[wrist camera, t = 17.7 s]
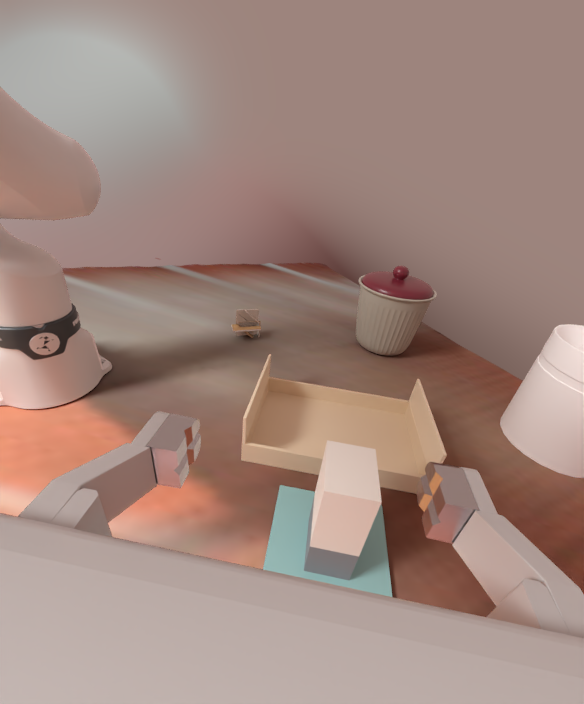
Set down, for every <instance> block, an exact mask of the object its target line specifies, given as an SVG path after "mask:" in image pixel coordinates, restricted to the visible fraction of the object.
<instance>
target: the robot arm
mask: <svg viewBox="0 0 584 704" xmlns="http://www.w3.org/2000/svg"><path fill="white" fill-rule="evenodd" d="M100 193H101V184H100V178H99V174H98V171H97V169H96V166H95V164H94V163H93V161H92V159H91V157H90V156H89V155H88V153H87V152H86V151H85V150H84V148H83V147H82V146H81V145H80V144H79V143H77V142H76V141H75V140H74V139H72V138H70V137H68V136H66V135H63V134H62V133H60V132H58V131H56V130H54V129H52V128H51V127H49V126H47V125H46V124H44V123H43V122H41V121H40V120H38V119H37V118H36V117H34V116H33V115H32V114H30V113H29V112H28V111H27V110H25V109H24V108H22V107H21V106H20V105H19V104H18V103H17V102H16V101H15V100H14V99H12V98H11V97H10V96H9V95H8V94H7V93H6V92H5V91H4V90H3V89H2V88H1V87H0V218H6V219H32V220H34V219H35V220H60V219H67V218H74V217H81V216H87V215H90V214H91V212H92V211H93V210H94V209H95V207H96V206H97V204H98V201H99V198H100ZM111 369H112V364H111V362H109V361H108V360H107V359H105V358H104V357H102V356H101V355H99V353H98V349H97V346H96V343H95V340H94V337H93V334H92V333H89V332H88V331H87V330H85V329H82V328H81V327H80V321H79V315H78V312H77V311H76V308H75V306H74V305H73V304H72V303H71V300H70V296H69V293H68V289H67V285H66V282H65V278H64V274H63V270H62V267H61V265H60V264H59V263H58V261H57V260H56V259H55V258H54V257H53V256H52V255H51V254H49V253H48V252H47V251H45V250H43V249H41V248H39V247H37V246H34V245H32V244H29V243H26V242H24V241H21V240H19V239H17V238H16V237H14V236H13V235H11V234H10V233H9V232H8V231H7V230H6V229H5V228H4V227H3V226H2V225H1V224H0V406H1V405H8V406H13V407H17V408H22V409H42V408H49V407H54V406H58V405H62V404H65V403H68V402H71V401H73V400H76V399H78V398H80V397H82V396H83V395H85V394H87V393H88V392H90V391H91V390H92V389H93V388H95V387H96V385H97V384H98V383H99V381H100V380H101V378H102V376H103V375H105V374H106V373H107V372H109V371H110V370H111ZM199 428H200V421H199V420H198V419H195V418H190V417H186V416H181V415H176V414H170V413H165V412H161V411H158V412H156V413H154V415H153V416H152V417H151V418H150V420H149V421H148V422H147V423H146V425H145V426H144V427H143V429H142V430H141V431H140V432H139V434H138V435H137V436H136V438H135V439H134V440H133V441H132V443H131V444H129V443H126V444H124V445H122V446H120V447H118V448H116V449H114V450H112V451H110V452H108V453H106V454H104V455H102V456H100V457H98V458H96V459H94V460H92V461H90V462H88V463H86V464H84V465H82V466H80V467H78V468H75V469H73V470H71V471H69V472H67V473H65V474H63V475H61V476H59V477H57V478H55V479H53V480H52V481H51V482H50V483H49V484H48V485H47V486H46V487H45V488H44V489H43V490H42V491H41V493H40V494H39V495H38V496H37V497H36V498H35V499H34V500H33V501H32V502H31V503H30V504H29V505H28V506H27V507H26V508H25V509H24V511H23V512H22V513H21V514H20V515H19V516H18V517H17V516H12V515H7V514H3V513H0V704H584V594H583V592H582V591H581V589H580V588H579V587H578V586H577V585H576V584H575V583H574V582H573V581H572V580H571V579H570V578H569V577H567V576H566V575H565V574H564V573H563V572H562V571H561V570H560V569H559V568H558V567H557V566H556V565H555V564H554V563H553V562H552V561H550V560H549V559H548V558H547V557H546V556H545V555H544V554H543V553H542V552H541V551H540V550H539V549H538V548H537V547H536V546H535V545H534V544H532V543H531V542H530V541H529V540H528V539H527V538H526V537H525V536H524V535H523V534H522V533H521V532H520V531H519V530H518V529H517V528H515V527H514V526H513V525H512V524H511V523H510V522H509V521H508V520H507V519H506V518H505V517H504V516H502V515H498V513H497V511H496V509H495V507H494V505H493V502H492V500H491V498H490V496H489V494H488V491H487V489H486V487H485V485H484V483H483V480H482V478H481V476H480V474H479V472H478V471H477V470H475V469H469V468H464V467H458V466H452V465H447V464H441V463H435V462H429V463H428V464H427V465H426V467H425V472H426V475H424V476H422V477H421V478H420V480H419V482H418V486H417V500H418V505H419V507H420V508H421V509H422V510H423V511H424V514H423V516H422V518H421V519H422V523H423V527H424V532H425V536H426V538H430V539H434V540H439V541H443V542H447V543H452V545H453V547H454V548H455V550H456V551H457V552H458V554H459V555H460V557H461V558H462V559H463V561H464V562H465V564H466V565H467V566H468V568H469V569H470V570H471V572H472V573H473V575H474V576H475V577H476V579H477V580H478V582H479V583H480V584H481V586H482V587H483V589H484V590H485V591H486V593H487V594H488V595H489V597H490V598H491V600H492V601H493V602H494V604H495V605H496V608H495V609H494V610H493V611H492V612H491V613H490V614H489V615H488V616H487V617H482V616H478V615H473V614H468V613H464V612H459V611H454V610H450V609H445V608H440V607H436V606H431V605H426V604H422V603H417V602H412V601H408V600H403V599H398V598H394V597H389V596H384V595H380V594H375V593H371V592H366V591H361V590H357V589H352V588H347V587H343V586H338V585H333V584H329V583H324V582H319V581H315V580H310V579H305V578H301V577H296V576H291V575H287V574H282V573H277V572H273V571H268V570H263V569H259V568H254V567H249V566H244V565H240V564H235V563H230V562H226V561H221V560H217V559H212V558H207V557H203V556H198V555H193V554H189V553H184V552H179V551H175V550H170V549H165V548H161V547H156V546H151V545H147V544H142V543H137V542H133V541H128V540H123V539H119V538H114V537H112V534H111V531H110V528H109V525H108V522H110V521H111V520H112V519H114V518H115V517H116V516H118V515H119V514H120V513H122V512H123V511H124V510H125V509H127V508H128V507H129V506H131V505H132V504H133V503H135V502H136V501H137V500H139V499H140V498H141V497H143V496H144V495H145V494H147V493H148V492H149V491H150V490H152V489H153V488H154V487H156V486H157V484H158V485H164V486H170V487H176V488H181V487H182V485H183V483H184V481H185V479H186V477H187V475H188V473H189V465H190V464H192V463H193V462H195V460H196V458H197V455H198V452H199V449H200V444H201V436H200V435H199V433H198V430H199Z"/></svg>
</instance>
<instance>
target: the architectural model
mask: <svg viewBox="0 0 584 704" xmlns="http://www.w3.org/2000/svg"><path fill="white" fill-rule="evenodd" d="M258 315H259V309H248V310H236V324H235V325H231V326H232V329H233V331H234V332H236V336H240V335H249V336H250V337H251V338H253V335H255V334H257V335H258V337H260V330H261V328H260V326H261V325H260V323H259V321H258Z"/></svg>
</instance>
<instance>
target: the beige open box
mask: <svg viewBox="0 0 584 704" xmlns="http://www.w3.org/2000/svg"><path fill="white" fill-rule="evenodd" d="M270 363H271V354H269V355H268V358H267V360H266V363H265V365H264V368H263V370H262V373H261V375H260V378H259V380H258V383H257V385H256V388H255V390H254V392H253V395H252V397H251V400H250V402H249V405H248V407H247V410H246V412H245V415H244V417H243V437H242V455H241V460H243V461H248V462H253V463H258V464H263V465H269V466H274V467H279V468H284V469H289V470H295V471H300V472H305V473H310V474H315V475H319V473H320V469H321V464H322V460H323V456H324V451H325V447H326V443H327V440H329V441H334V442H339V443H345V444H350V445H356V446H361V447H367V448H372V449H376V457H377V466H378V475H379V484H380V487H383V488H388V489H394V490H399V491H404V492H409V493H415V494H417V486H418V482H419V480H420V478H421V477H422V476H424V475H426V472H425V467H426V465H427V464H428V463H429V462H435V463H441V464H442V463H443V461H444V460H445V458H446V456H447V454H446V451H445V449H444V446H443V443H442V440H441V437H440V435H439V432H438V429H437V426H436V424H435V421H434V418H433V415H432V412H431V410H430V407H429V404H428V401H427V399H426V396H425V393H424V390H423V387H422V385H421V382H420V379H417V381H416V383H415V386H414V389H413V391H412V394H411V396H410V399H409V401H407V400H402V399H396V398H390V397H384V396H378V395H373V394H367V393H361V392H355V391H349V390H344V389H338V388H332V387H326V386H320V385H315V384H309V383H303V382H297V381H291V380H286V379H280V378H274V377H269V374H270Z"/></svg>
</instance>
